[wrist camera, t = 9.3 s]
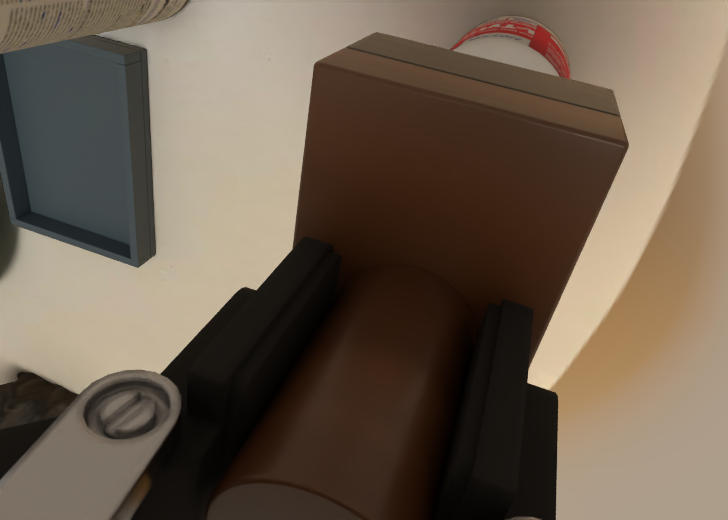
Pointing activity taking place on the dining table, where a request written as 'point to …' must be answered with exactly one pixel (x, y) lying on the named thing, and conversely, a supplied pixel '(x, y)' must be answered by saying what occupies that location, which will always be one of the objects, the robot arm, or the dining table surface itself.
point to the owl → (31, 400)
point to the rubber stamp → (418, 265)
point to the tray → (79, 145)
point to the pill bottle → (517, 45)
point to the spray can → (73, 19)
